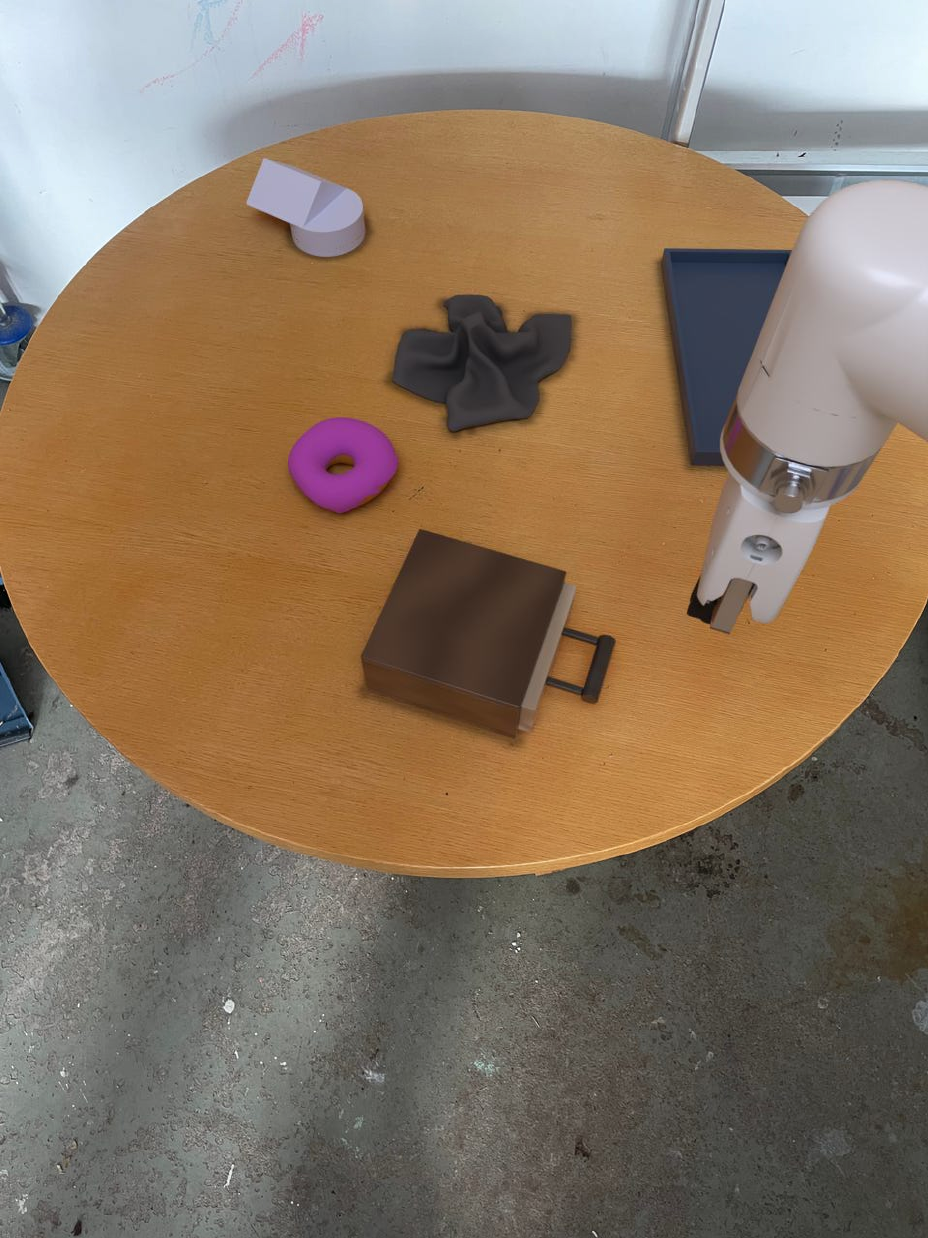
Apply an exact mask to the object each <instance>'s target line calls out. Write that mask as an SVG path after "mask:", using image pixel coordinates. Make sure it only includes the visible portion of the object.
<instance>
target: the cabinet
mask: <svg viewBox="0 0 928 1238" xmlns="http://www.w3.org/2000/svg"><path fill="white" fill-rule="evenodd" d="M566 577H567V571H566V570H562V569H559V568H556V567H552V566H549V565H545V564H542V563H539V562H535V561H532V560H528V559H525V558H522V557H519V556H515V555H512V554H508V553H504V552H502V551H498V550H495V549H491V548H489V547H484V546H481V545H477V544H473V543H470V542H467V541H464V540H460V539H457V538H454V537H450V536H447V535H444V534H440V533H436V532H433V531H429V530H426V529H422V528H419V529H418V531H417V533H416V535H415V537H414V540H413V541H412V543H411V546H410V548H409V550H408V552H407V555H406V557H405V558H404V561H403V563H402V566H401V567H400V570H399V572H398V574H397V576H396V579H395V581H394V583H393V585H392V587H391V590H390V592H389V593H388V596H387V598H386V601H385V602H384V603H383V604H384V605H383V607H382V609H381V611H380V613H379V615H378V617H377V620H376V622H375V624H374V626H373V628H372V631H371V633H370V635H369V637H368V639H367V642H366V644H365V646H364V648H363V649H362V652H361V654H360V661H361V666H362V671H363V676H364V680H365V685H366V688H367V692H371V693H373V694H377V695H380V696H382V697H386V698H389V699H391V700H395V701H398V702H401V703H404V704H407V705H410V706H413V707H416V708H419V709H422V710H425V711H428V712H432V713H434V714H438V715H441V716H443V717H447V718H450V719H452V720H456V721H459V722H461V723H465V724H468V725H471V726H474V727H477V728H480V729H483V730H486V731H489V732H492V733H496V734H498V735H501V736H503V737H508V738H510V739H514V740H515V739H516V737H517V734H518V731H519V729H518V723H519V717H520V710H521V705H522V702H523V699H524V696H525V693H526V690H527V688H528V685H529V682H530V679H531V676H532V673H533V670H534V667H535V664H536V662H537V659H538V656H539V653H540V650H541V647H542V644H543V641H544V638H545V636H546V633H547V630H548V627H549V624H550V621H551V618H552V615H553V612H554V610H555V607H556V604H557V601H558V598H559V595H560V592H561V589H562V586H563V584H564V583H566Z"/></svg>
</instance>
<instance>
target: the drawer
mask: <svg viewBox="0 0 928 1238" xmlns="http://www.w3.org/2000/svg"><path fill="white" fill-rule="evenodd" d="M577 590H578V585H577V586H576V585H573V584H570V583H567V582H565V583H564V584H563V586H562V589H561V592H560V595H559V598H558V601H557V604H556V607H555V610H554V612H553V615H552V618H551V621H550V624H549V627H548V630H547V633H546V636H545V638H544V641H543V644H542V647H541V650H540V653H539V656H538V659H537V662H536V664H535V667H534V670H533V673H532V676H531V679H530V682H529V685H528V688H527V690H526V693H525V696H524V699H523V702H522V705H521V710H520V717H519V723H518V730H519V731H523V732H526V733H529V734H532V732H533V729H534V726H535V724H536V723H535V722H536V720H537V717H538V714H539V711H540V708H541V704H542V702H543V699H544V696H545V693H546V690H547V686H548V687H551V688H553V689H557V690H561V691H563V692H567V693H571V694H573V695H576V696H579V697H580V700H581V701H583V702H584V703H586V704H590V705H595V704H598V703H599V700H600V697H601V694H602V691H603V687H604V684H605V680H606V677H607V673H608V670H609V667H610V663H611V660H612V657H613V653H614V650H615V646H616V643H617V640H616V638H614V637H613V636H611V635H609V634H600V635H599V636H596V635H592V634H589V633H586V632H583V631H580V630H576V629H572V628H569V627H568V624H569V621H570V618H571V615H572V610H573V607H574V603H575V598H576V595H577ZM564 637H566V638H569V639H572V640H576V641H578V642H582V643H585V644H587V645H588V644H589V645H592V646H595V648H594V650H593V655H592V658H591V661H590V665H589V668H588V671H587V674H586V678H585V680H584V683H583V686H580V685H577V684H575V683H570V682H567V681H563V680H561V679H557V678H554V677H551V675H552V672H553V669H554V666H555V663H556V660H557V657H558V654H559V651H560V648H561V646H562V642H563V639H564Z"/></svg>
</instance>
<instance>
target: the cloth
mask: <svg viewBox="0 0 928 1238" xmlns="http://www.w3.org/2000/svg"><path fill="white" fill-rule="evenodd" d="M442 304H443V306H444V307H445V308H447V326H448V329H449V330H450V332H449V331H438V330H437V331H436V330H433V329H428V328H410V329H407V330H405V331H403V332H402V334H401V337H400V340H399V342H398V344H397V349H396V353H395V357H394V363H393V373H392V375H391V377H390V379H391V381H392V382H393V383H395V384H397V385H398V386H399V387H401V388H403V389H405V390H407V391H409V392H411V393H412V394H414V395H416V396H418V397H421V398H424V399H426V400H429V401H431V402H435V403H440V404H445V405H446V411H447V418H446V422H445V426H447V428H448V429H449V430H450V431H451V432H457V431H460V430H466V429H469V428H474V427H479V426H484V425H489V424H492V423H498V422H504V421H512V420H519V419H527V418H529V417H530V416H532V415H533V413H534V411H535V409H536V408H537V405H538V403H539V400H540V391H539V386H538V385H539V382H540V381H541V380H543V379H545V378H546V377H548V376H550V375H552V374H554V373H556V372H557V371H558V370H560V369H561V368H562V367H563V366H564V364H565V363H566V361H567V358H568V355H569V353H570V349H571V345H572V344H571V343H572V315H570V314H563V313H537V314H533V315H531V316H530V318H529V319H527V320H525V321H524V322H523V323H522V324H521V325H520V326H519V328H518V330H517V331H508V329H507V324H506V322H505V320H504V318H503V311H502V308H501V306H499V305H496V303H495V302H494V299H492V298H491V297H489V296H487V295H483V294H471V293H469V294H468V293H467V294H455V295H453V296H451V297H449V298H447V299H445V300H443V303H442Z"/></svg>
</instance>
